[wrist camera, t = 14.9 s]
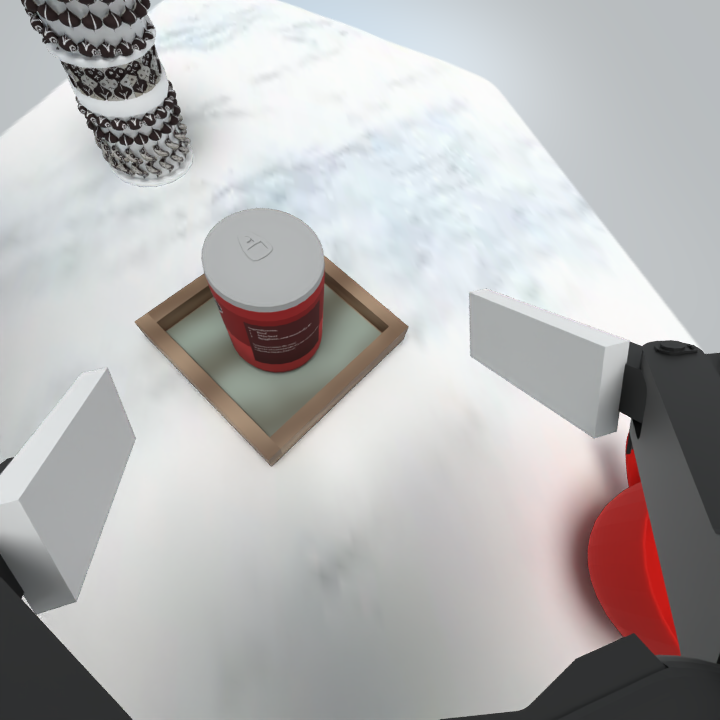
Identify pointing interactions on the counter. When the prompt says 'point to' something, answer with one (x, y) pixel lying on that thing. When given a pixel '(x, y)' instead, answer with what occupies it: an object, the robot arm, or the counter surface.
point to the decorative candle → (118, 84)
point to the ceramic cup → (631, 569)
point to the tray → (274, 389)
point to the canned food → (267, 286)
